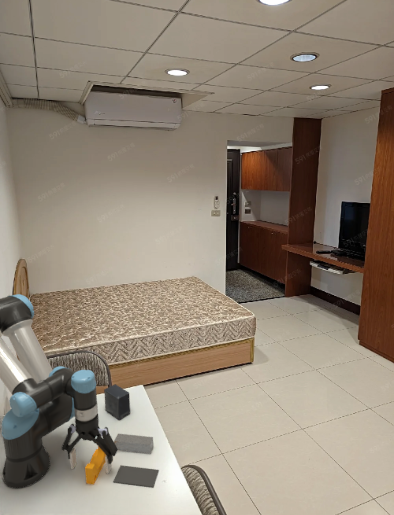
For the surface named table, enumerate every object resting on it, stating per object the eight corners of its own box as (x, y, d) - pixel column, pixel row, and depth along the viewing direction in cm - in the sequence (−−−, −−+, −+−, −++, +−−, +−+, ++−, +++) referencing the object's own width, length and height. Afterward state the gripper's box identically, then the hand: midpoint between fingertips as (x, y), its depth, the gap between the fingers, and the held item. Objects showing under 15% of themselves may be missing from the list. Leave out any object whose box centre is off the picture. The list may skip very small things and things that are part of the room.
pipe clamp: (97, 456, 130) (95, 441, 129) (108, 457, 129) (106, 442, 128) (81, 483, 118) (80, 467, 117) (93, 484, 118) (92, 468, 116)
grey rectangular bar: (114, 450, 133) (114, 440, 132) (118, 442, 136) (118, 433, 136) (150, 454, 131) (150, 444, 130) (153, 446, 134) (153, 437, 134)
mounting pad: (113, 482, 118) (113, 481, 118) (120, 466, 125) (120, 465, 125) (153, 487, 116) (153, 486, 116) (158, 470, 123) (158, 469, 123)
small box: (131, 413, 153) (130, 392, 151) (119, 421, 149) (117, 399, 146) (116, 403, 160) (115, 383, 158) (104, 410, 155) (103, 389, 153)
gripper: (47, 419, 118) (53, 472, 122) (116, 426, 114) (120, 481, 119) (59, 405, 125) (64, 456, 130) (124, 411, 121) (128, 463, 126)
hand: (91, 468), depth 124 cm, fingers open, 12 cm apart
